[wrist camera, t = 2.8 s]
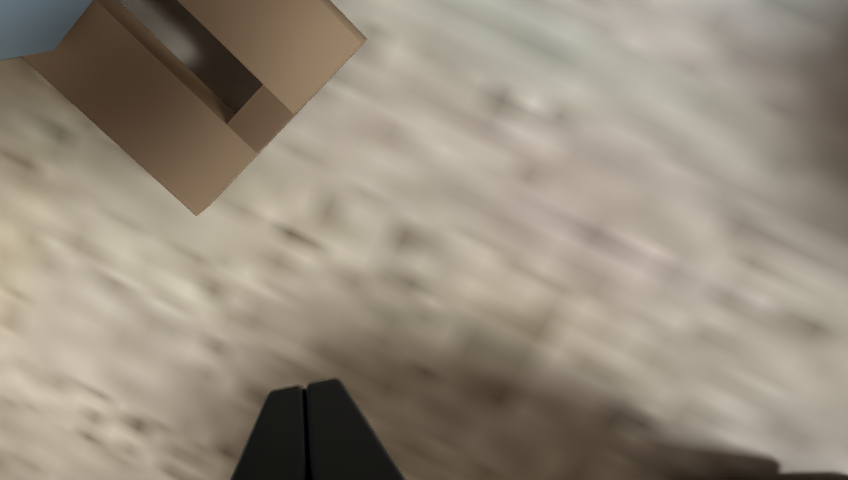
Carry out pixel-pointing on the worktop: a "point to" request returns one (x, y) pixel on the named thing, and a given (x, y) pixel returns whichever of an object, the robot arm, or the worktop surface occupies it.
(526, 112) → the worktop surface
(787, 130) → the worktop surface
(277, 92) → the slotted wooden board
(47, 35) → the rider
